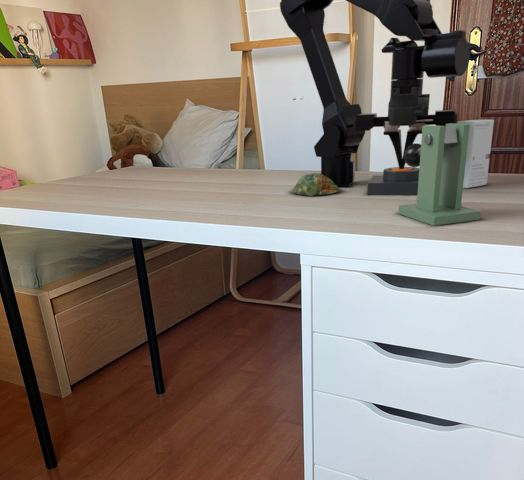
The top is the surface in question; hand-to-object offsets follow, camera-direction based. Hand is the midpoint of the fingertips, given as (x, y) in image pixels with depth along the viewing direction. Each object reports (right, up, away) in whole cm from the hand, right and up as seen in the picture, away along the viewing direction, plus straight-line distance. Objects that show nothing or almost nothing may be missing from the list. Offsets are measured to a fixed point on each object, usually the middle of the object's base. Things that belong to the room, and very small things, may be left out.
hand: (401, 168), depth 103 cm
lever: (-1, -6, -22) cm, 22 cm away
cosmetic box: (+14, -3, +3) cm, 15 cm away
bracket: (0, -15, -21) cm, 25 cm away
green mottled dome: (-17, -3, +5) cm, 18 cm away
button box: (0, -4, +2) cm, 4 cm away
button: (0, -2, +1) cm, 2 cm away
